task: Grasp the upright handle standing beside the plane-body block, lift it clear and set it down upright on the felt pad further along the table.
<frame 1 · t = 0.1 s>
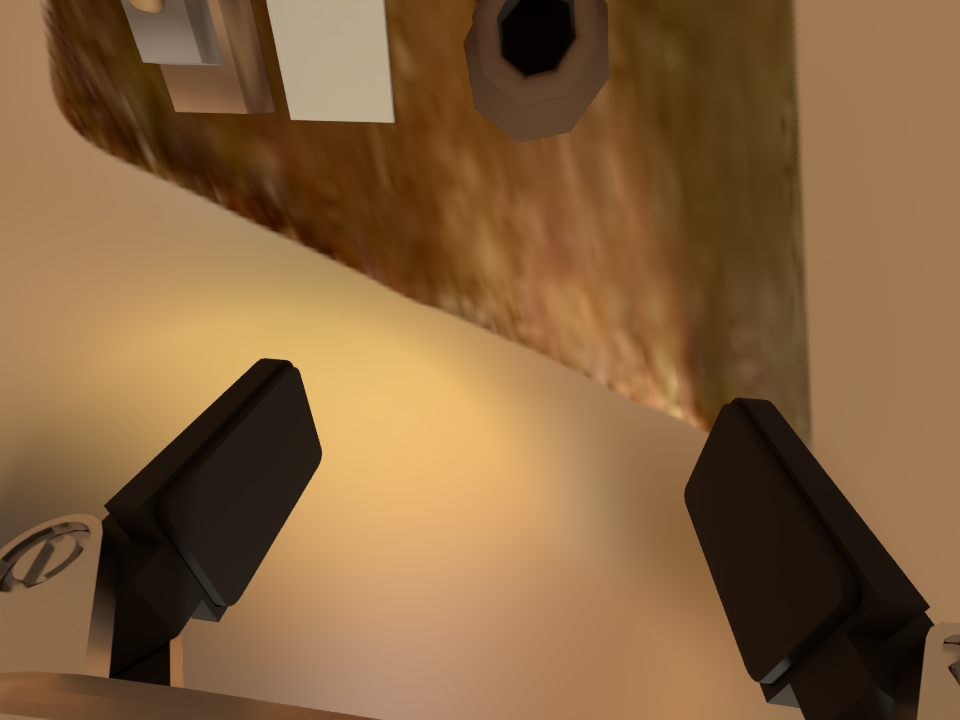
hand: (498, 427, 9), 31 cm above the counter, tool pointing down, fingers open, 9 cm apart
felt pad: (334, 54, 32), on the counter
brown glass bottle: (536, 73, 31), on the counter
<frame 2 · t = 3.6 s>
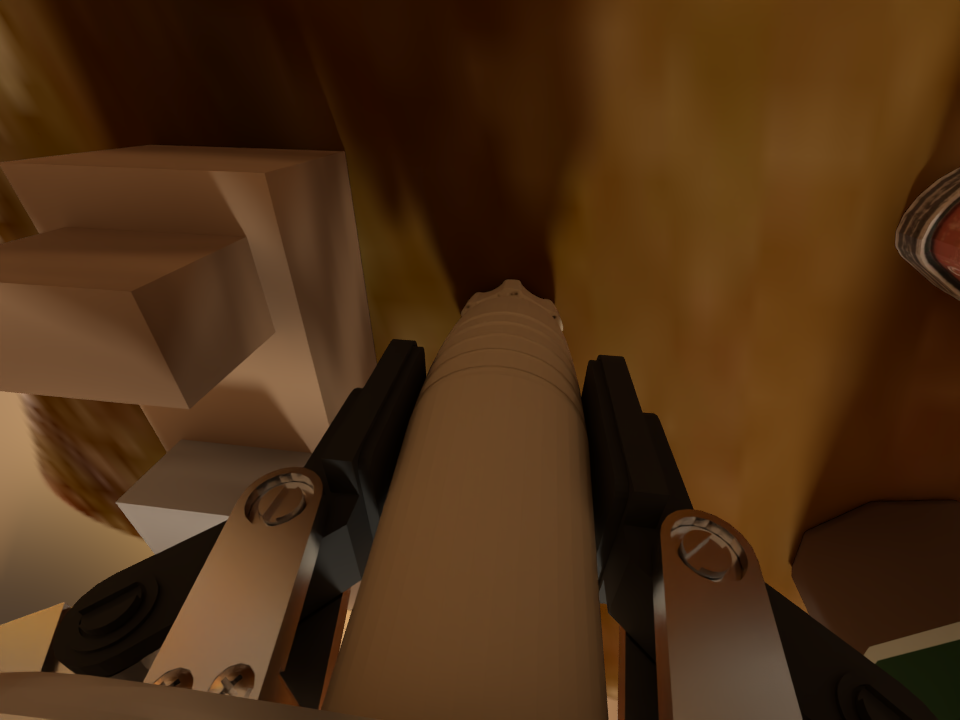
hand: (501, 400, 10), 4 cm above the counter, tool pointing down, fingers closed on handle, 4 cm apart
brown glass bottle: (880, 545, 18), on the counter
handle: (511, 318, 14), on the counter, touching gripper
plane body: (311, 393, 16), on the counter
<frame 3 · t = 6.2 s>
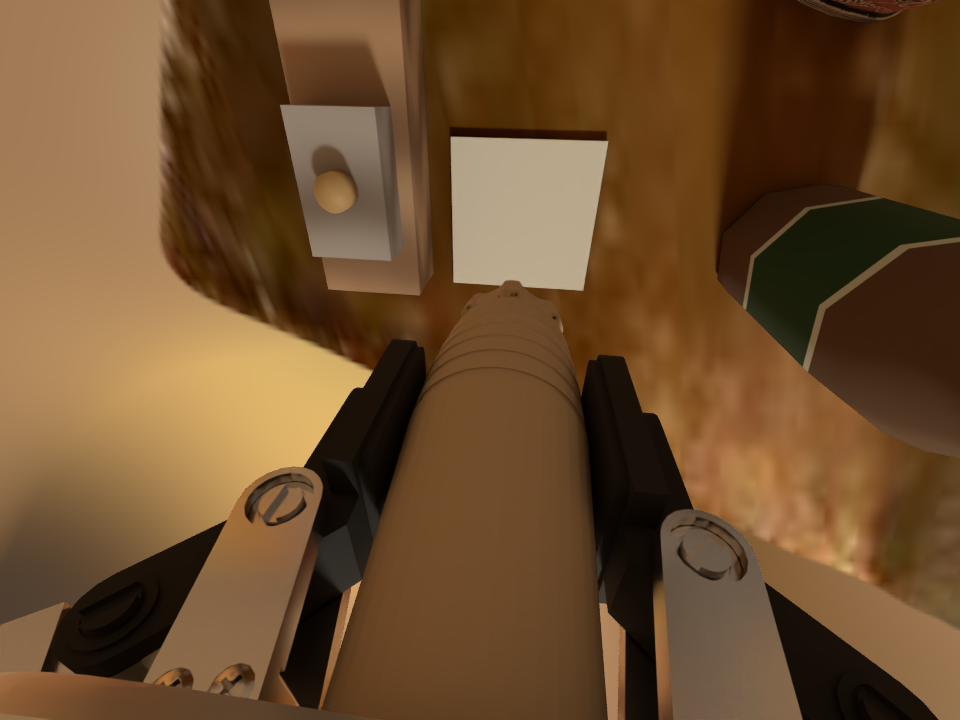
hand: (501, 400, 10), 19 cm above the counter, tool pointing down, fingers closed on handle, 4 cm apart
felt pad: (522, 218, 26), on the counter
brown glass bottle: (777, 245, 25), on the counter
handle: (511, 318, 14), point 14 cm above the counter, touching gripper
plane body: (377, 124, 24), on the counter
when the fingers open (5 cm above the counter, at t = 8.9 s): handle stays where it is, resting on felt pad.
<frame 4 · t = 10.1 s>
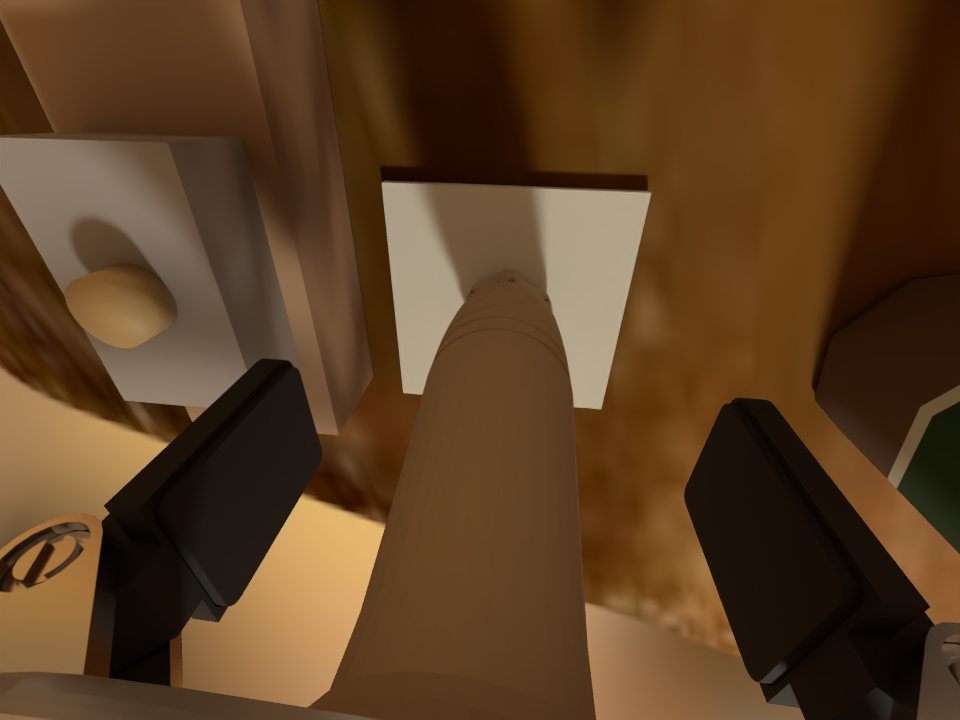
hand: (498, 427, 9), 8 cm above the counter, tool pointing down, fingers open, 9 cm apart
felt pad: (506, 306, 16), on the counter
brown glass bottle: (917, 353, 15), on the counter
handle: (508, 304, 16), resting on felt pad
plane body: (259, 160, 14), on the counter
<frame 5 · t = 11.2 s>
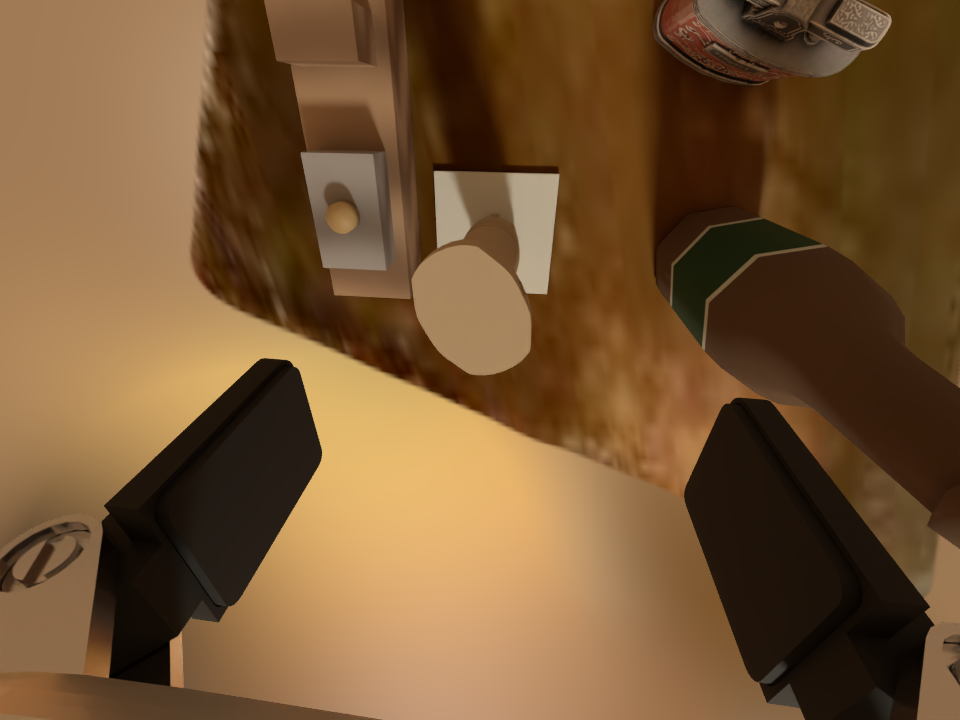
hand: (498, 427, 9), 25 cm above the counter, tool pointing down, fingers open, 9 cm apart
felt pad: (494, 235, 31), on the counter
brown glass bottle: (702, 255, 31), on the counter
handle: (495, 233, 31), resting on felt pad
lighter: (715, 40, 24), on the counter
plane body: (374, 161, 29), on the counter
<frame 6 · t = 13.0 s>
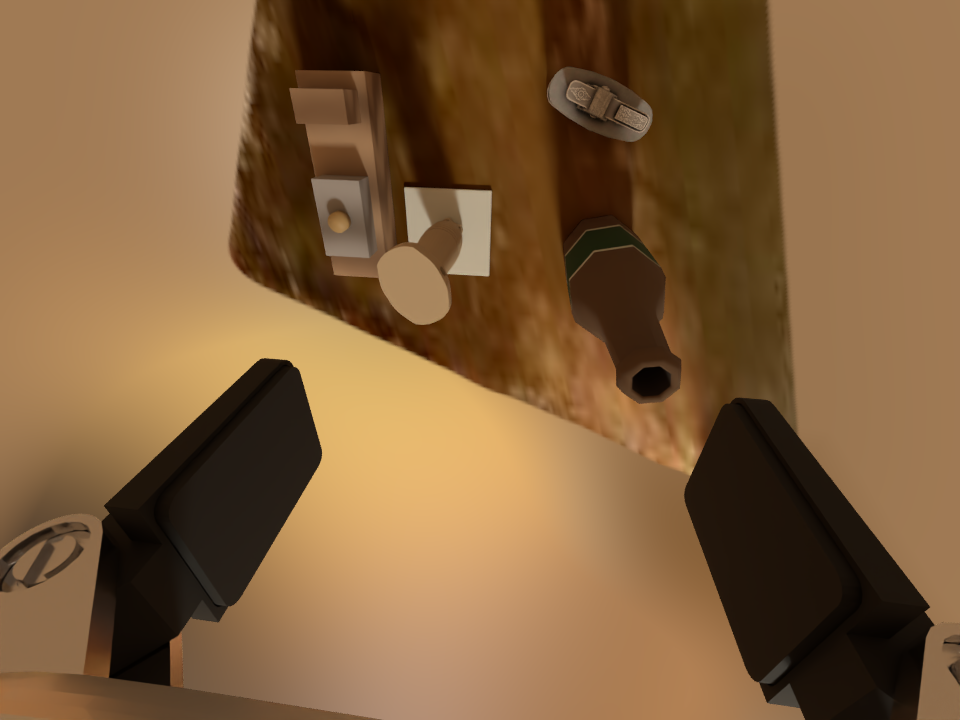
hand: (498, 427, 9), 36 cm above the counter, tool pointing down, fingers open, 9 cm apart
felt pad: (449, 232, 43), on the counter
brown glass bottle: (597, 249, 43), on the counter
handle: (449, 231, 43), resting on felt pad
lighter: (589, 104, 36), on the counter
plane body: (362, 179, 41), on the counter
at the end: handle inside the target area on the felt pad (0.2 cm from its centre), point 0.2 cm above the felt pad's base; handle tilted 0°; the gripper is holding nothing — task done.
